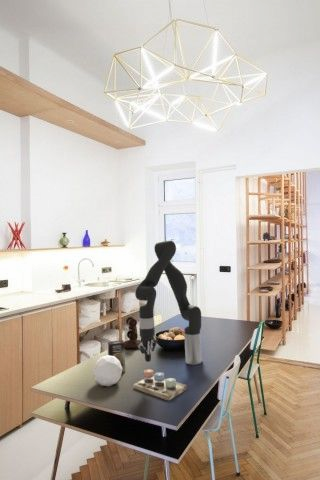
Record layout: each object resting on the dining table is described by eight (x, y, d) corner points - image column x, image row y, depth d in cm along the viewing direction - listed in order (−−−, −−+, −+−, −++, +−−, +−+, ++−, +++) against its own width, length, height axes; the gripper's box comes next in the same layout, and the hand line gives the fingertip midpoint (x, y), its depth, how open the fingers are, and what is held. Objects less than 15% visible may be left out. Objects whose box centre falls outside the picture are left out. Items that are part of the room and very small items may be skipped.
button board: (152, 378, 173) (152, 373, 173) (186, 389, 159) (186, 383, 159) (133, 388, 163) (133, 382, 163) (168, 400, 148) (168, 394, 148)
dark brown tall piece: (146, 348, 225) (145, 318, 225) (125, 351, 220) (123, 321, 220) (139, 342, 239) (138, 314, 239) (119, 345, 233) (118, 317, 234)
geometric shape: (100, 395, 168) (83, 370, 170) (122, 376, 178) (105, 353, 180) (110, 390, 157) (91, 363, 160) (132, 370, 167) (114, 345, 170)
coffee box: (109, 374, 182) (108, 344, 182) (108, 369, 188) (107, 341, 189) (125, 371, 185) (124, 342, 185) (124, 367, 191) (123, 339, 191)
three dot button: (158, 376, 164) (158, 371, 164) (166, 378, 161) (166, 373, 161) (152, 379, 161) (151, 374, 161) (160, 382, 157) (159, 377, 157)
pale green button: (170, 382, 160) (169, 377, 160) (178, 384, 157) (178, 379, 157) (163, 385, 156) (163, 380, 156) (171, 388, 153) (171, 383, 153)
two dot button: (148, 373, 169) (148, 368, 169) (155, 375, 166) (155, 370, 166) (141, 376, 165) (141, 371, 165) (149, 378, 162) (148, 374, 162)
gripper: (150, 322, 173) (151, 356, 173) (132, 328, 163) (133, 363, 163) (161, 324, 168) (162, 358, 168) (143, 330, 158) (144, 366, 158)
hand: (148, 361), depth 166 cm, fingers closed
